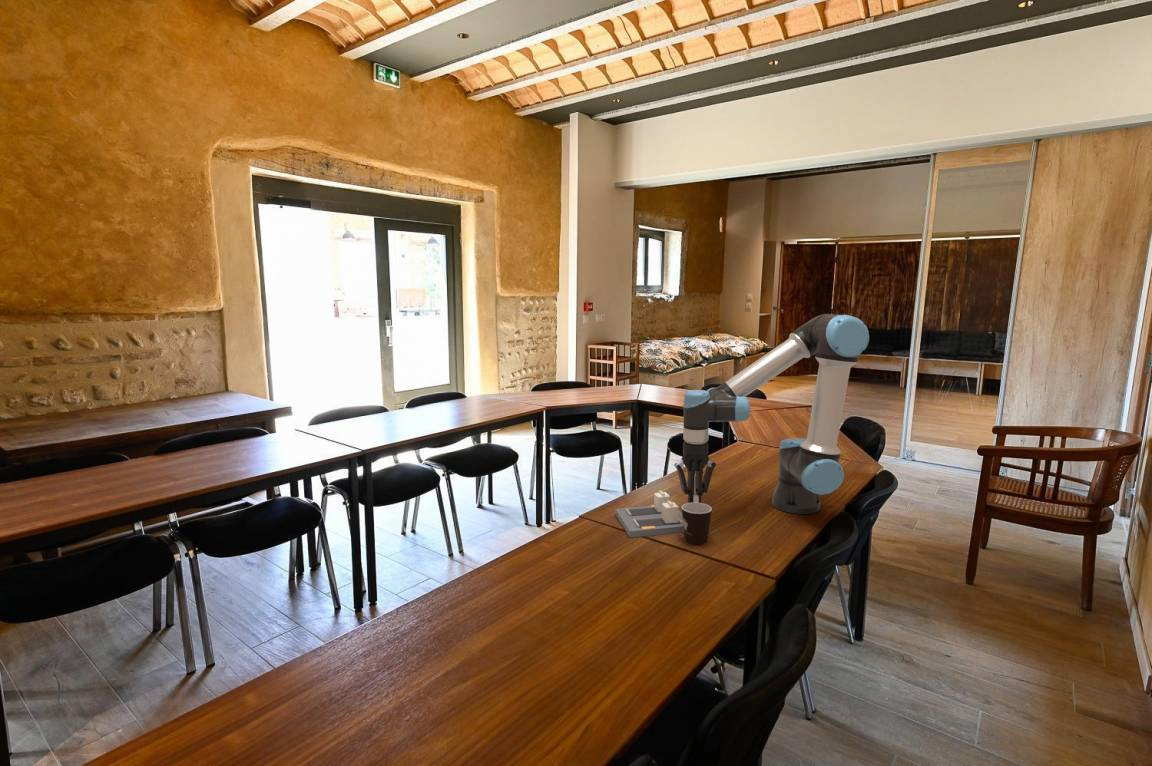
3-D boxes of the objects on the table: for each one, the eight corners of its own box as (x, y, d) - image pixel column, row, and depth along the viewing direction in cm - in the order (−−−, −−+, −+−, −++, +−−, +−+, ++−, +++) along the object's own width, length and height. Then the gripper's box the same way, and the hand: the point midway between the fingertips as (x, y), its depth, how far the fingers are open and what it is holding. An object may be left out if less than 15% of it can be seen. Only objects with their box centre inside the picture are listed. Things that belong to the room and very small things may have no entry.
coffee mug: (711, 547, 161) (712, 514, 159) (680, 545, 163) (681, 512, 161) (711, 531, 172) (711, 499, 170) (682, 529, 174) (682, 498, 172)
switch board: (673, 509, 189) (673, 502, 189) (693, 531, 172) (693, 523, 171) (615, 514, 186) (615, 507, 186) (630, 537, 168) (630, 529, 168)
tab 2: (673, 517, 177) (674, 499, 176) (678, 522, 173) (678, 504, 172) (661, 518, 176) (661, 500, 175) (665, 523, 172) (666, 505, 172)
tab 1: (665, 506, 186) (665, 489, 185) (669, 511, 182) (669, 494, 181) (654, 507, 185) (654, 490, 184) (657, 512, 181) (658, 495, 180)
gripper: (710, 436, 177) (709, 508, 181) (671, 439, 175) (670, 511, 178) (721, 442, 170) (719, 517, 173) (679, 445, 167) (678, 521, 171)
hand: (694, 514), depth 176 cm, fingers closed
